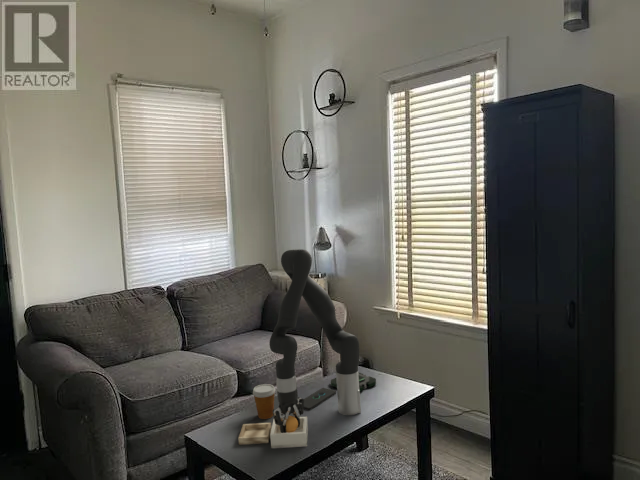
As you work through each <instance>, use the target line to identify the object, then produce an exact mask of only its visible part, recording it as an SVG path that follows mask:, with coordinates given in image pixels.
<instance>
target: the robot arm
mask: <svg viewBox="0 0 640 480" xmlns="http://www.w3.org/2000/svg"><path fill="white" fill-rule="evenodd" d="M280 264H281V267H282V269H283V271H284V272H285V273H286V275H287V276H288V277H289V279H290V280H291V282H290V286H289V287H288V289H287V292H286V293H285V295H284V296H283V298H282V301H281V303H280V306H279V311H278V317H277V323H276V325H275V326H274V329H273V331H272V333H271V336H270V338H269V348H270V350H271V352H272V353H274V354H278V355H283V358H280V359H278V360H277V361H276V363H275V373H276V382H275V383H276V384H275V385H276V394H277V401H278V404H279V405H278V407H277V408H276V409H275V408H274V409H273V411H272V412H273V417H272V418H273V420H274V421H275V424H277V425H279V426H280V431H281V433H287V431H286V425H285V424H286V420H287V419H288V416H291V414H292V416H294V417H295V418H296V419H297V421H298V427H300V417H301V415H304V412H305V409H304V399H305V398H302V397H299V395H298V383H297V377H296V369H295V363H296V359H297V352H298V342H297V340H296V338H295V337H293V336H291V335H287V333H288V331H289V330H294V329H295V328H296V326H297V321H298V316H299V315H298V314H299V310H300V304H301V300H302V298H303V299H304V301H305V303H306V305H307V307H308V308H309V310H310V311H311V313H312V315H313V316H314V318H315V320H316V321H317V323H318V325H319V326H320V327H321V329H322V330H323V332H324V334H325V337H326V339H327V341H328V343H329V346H330V348H331V349H332V351H334V352H335V353H337V354H340V361H338V362H337V363H336V364H335V374H336V375H335V376H336V377H335V378H336V379H337V388H336V395H337V409H338V413H339V414H341V415H344V416H354V415H357V414H361V413H362V407H361V391H360V390H359V377H358V372H359V364H360V356H361V355H360V341H359V338H358V337H357V335H354V334H352V333H350V332H347V331H345V330H344V329H343V328H342V327H341V326H342V325H340V323H339V321H338V320H337V317H336V316H337V315H336V307H335V304H334V302H333V300H332V299H331V297H330V295H329V293H328V292H327V290H326V289H324V288H323V286H322V285H321V284H319V283H318V282H317V281H316V280H314V279H313V278H312V277H311V276H310V275H309V274H310V272H311V268H312V265H313V258H312V254H311V253H310V251H308V249H307V250H306V249H300V248H299V249H288V250H286V251H284V252H283V253H282V255H281V258H280ZM296 406H297V407H296ZM298 427H297V428H298Z"/></svg>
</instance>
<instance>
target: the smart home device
mask: <svg viewBox="0 0 640 480" xmlns="http://www.w3.org/2000/svg"><path fill="white" fill-rule="evenodd" d="M335 395H337V390H334V389H330V388H325V387H321V388H320V389H318V390H317V391H315V392H313V393H311V394H310V395H308V396H306V397H305V398H303V399H304V410H306V411H312V410H313V409H315V408H317V407H318V406H320V405H321V404H323V403H324V402H326V401H328V400H329V399H330V398H332V397H334V396H335ZM296 407H297V406H296Z"/></svg>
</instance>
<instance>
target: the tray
mask: <svg viewBox="0 0 640 480" xmlns="http://www.w3.org/2000/svg"><path fill="white" fill-rule="evenodd" d="M271 429H272V422H258V423H256V422H255V423H243V424H242V427H241V430H240V433H239V435H238V445H239V446H240V445H256V444H258V445H260V444H269V441H270V439H271V438H270V434H271Z"/></svg>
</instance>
